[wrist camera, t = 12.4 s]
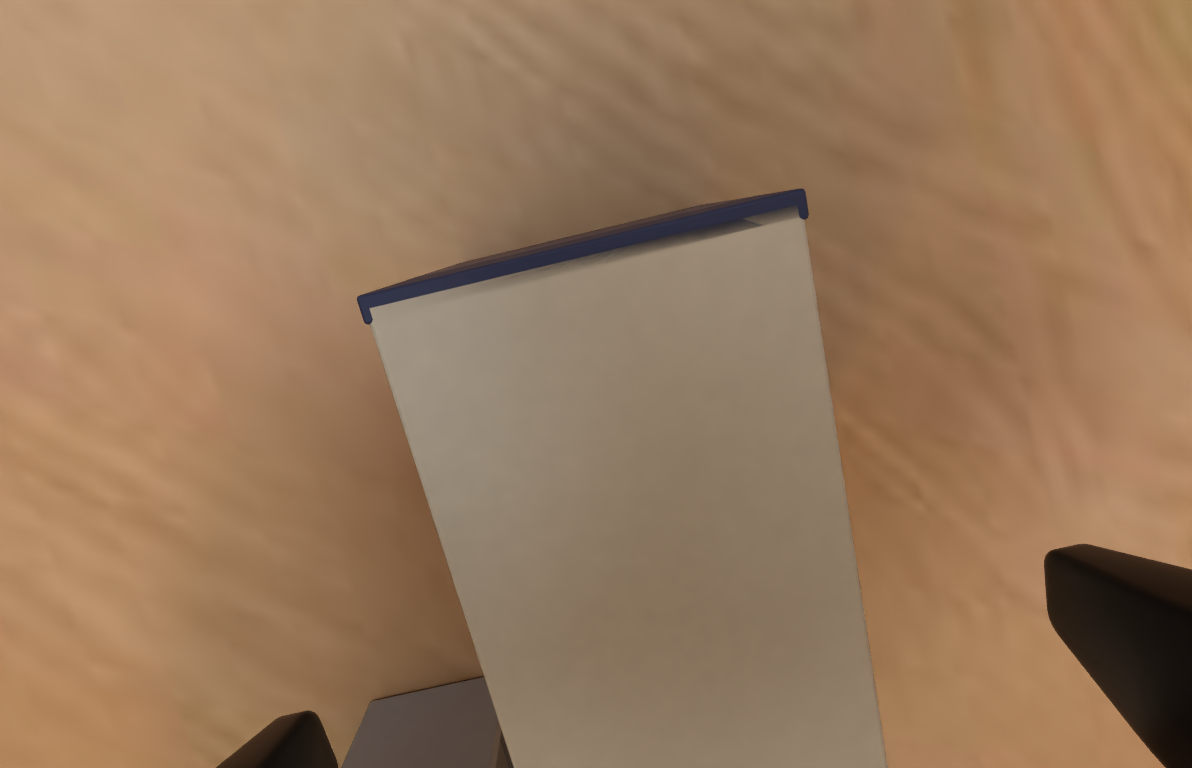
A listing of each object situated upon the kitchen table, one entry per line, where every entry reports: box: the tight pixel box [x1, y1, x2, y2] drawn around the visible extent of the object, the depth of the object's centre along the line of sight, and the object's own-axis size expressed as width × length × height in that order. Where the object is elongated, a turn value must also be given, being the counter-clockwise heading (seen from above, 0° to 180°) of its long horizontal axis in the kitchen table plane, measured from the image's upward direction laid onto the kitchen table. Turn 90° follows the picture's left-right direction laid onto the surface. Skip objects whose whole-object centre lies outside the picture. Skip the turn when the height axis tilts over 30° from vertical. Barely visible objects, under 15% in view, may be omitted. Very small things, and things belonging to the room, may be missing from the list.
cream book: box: [357, 189, 888, 768], centre depth 11 cm, size 6×10×2 cm, turn 13°
